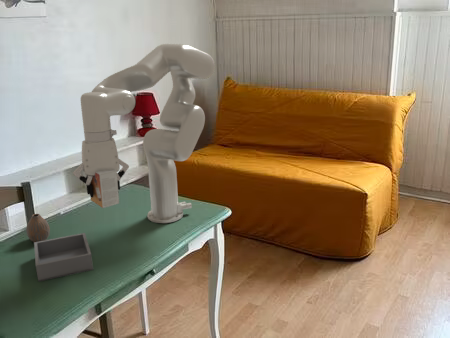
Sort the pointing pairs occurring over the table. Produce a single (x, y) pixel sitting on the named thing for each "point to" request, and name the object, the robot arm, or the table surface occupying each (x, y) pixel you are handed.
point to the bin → (62, 256)
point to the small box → (105, 188)
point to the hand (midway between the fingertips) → (104, 193)
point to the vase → (37, 228)
